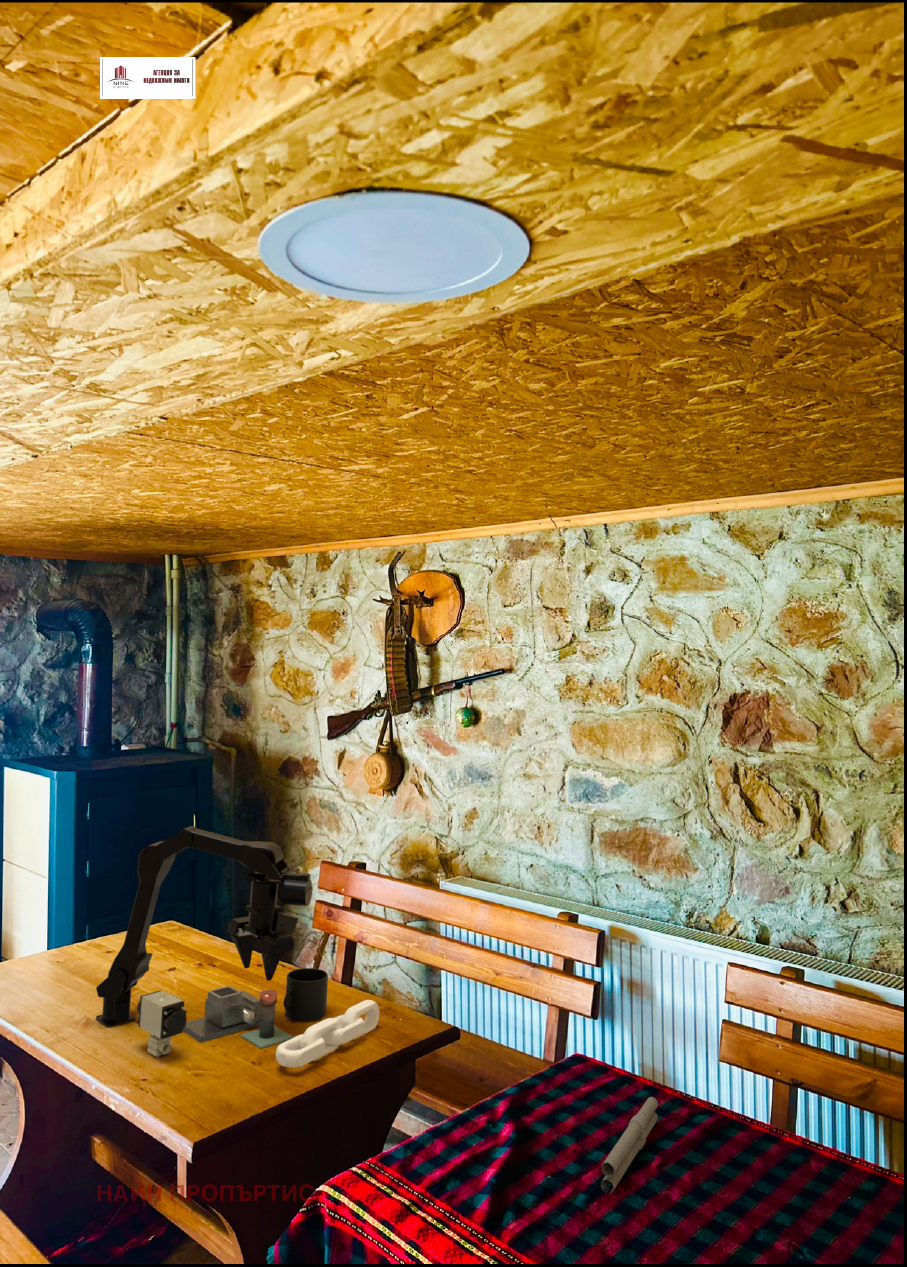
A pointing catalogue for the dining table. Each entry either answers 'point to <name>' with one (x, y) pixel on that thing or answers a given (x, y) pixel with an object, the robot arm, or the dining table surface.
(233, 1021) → the bracket
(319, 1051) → the chain
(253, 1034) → the mat
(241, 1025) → the clamp base
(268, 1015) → the round metal peg
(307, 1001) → the mug
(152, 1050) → the pneumatic valve
